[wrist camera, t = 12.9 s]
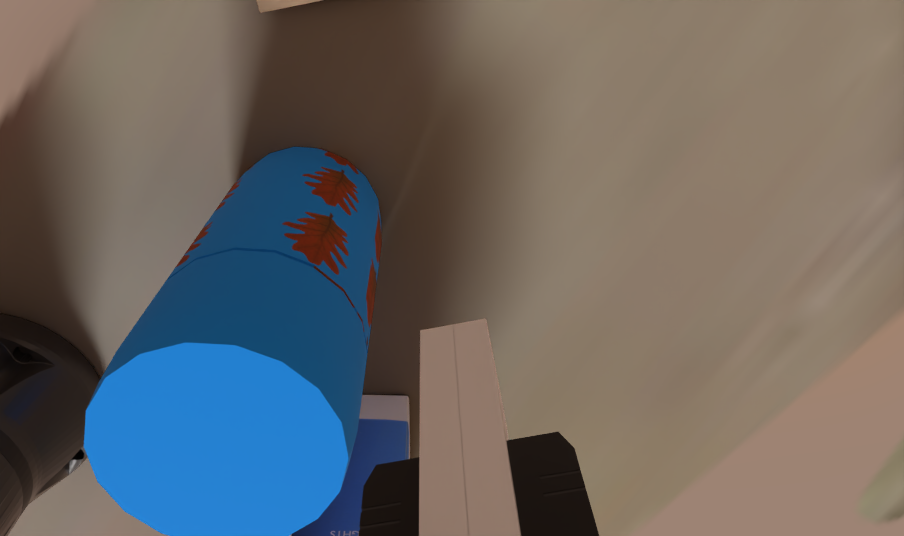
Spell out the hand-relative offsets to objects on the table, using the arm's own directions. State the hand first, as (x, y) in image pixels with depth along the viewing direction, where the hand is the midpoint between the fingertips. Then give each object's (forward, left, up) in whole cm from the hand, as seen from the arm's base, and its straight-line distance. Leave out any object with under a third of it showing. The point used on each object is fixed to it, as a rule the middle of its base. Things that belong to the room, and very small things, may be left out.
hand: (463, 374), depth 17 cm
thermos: (-11, -8, -35) cm, 37 cm away
